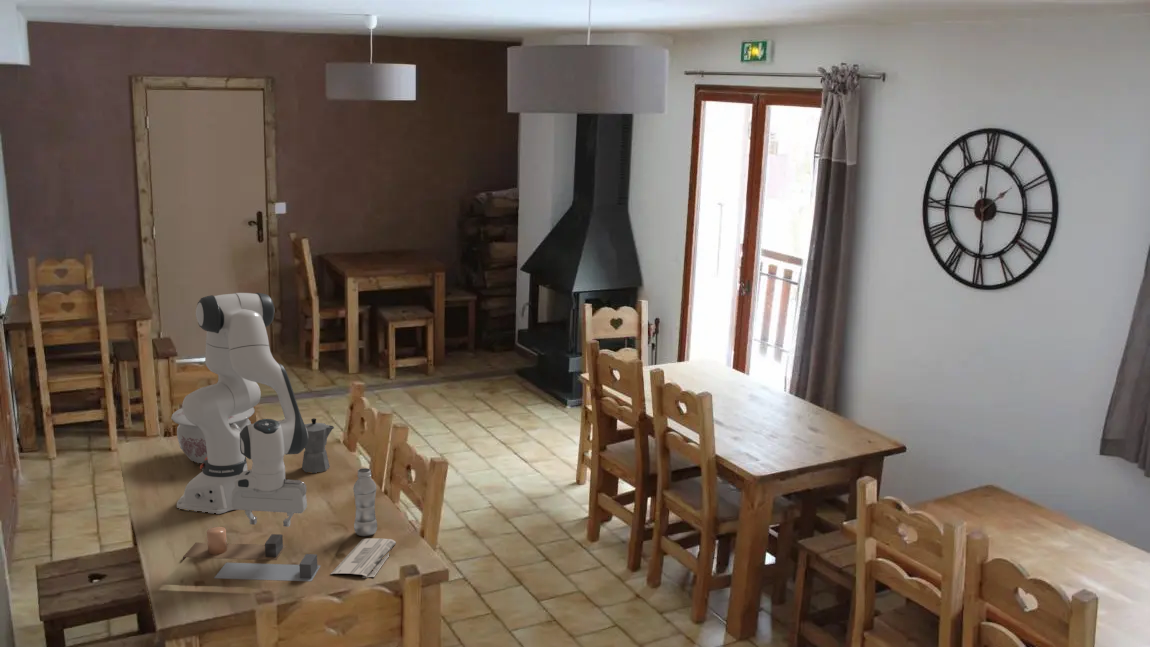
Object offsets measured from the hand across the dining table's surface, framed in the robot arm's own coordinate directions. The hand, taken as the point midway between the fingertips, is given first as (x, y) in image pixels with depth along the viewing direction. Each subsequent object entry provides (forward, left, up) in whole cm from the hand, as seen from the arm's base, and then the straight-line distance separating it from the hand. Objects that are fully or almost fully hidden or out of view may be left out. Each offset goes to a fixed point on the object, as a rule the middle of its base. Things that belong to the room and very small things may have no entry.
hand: (270, 524), depth 283 cm
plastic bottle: (+23, +16, -10) cm, 29 cm away
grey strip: (+3, -12, -9) cm, 15 cm away
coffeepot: (-7, +66, -10) cm, 67 cm away
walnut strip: (-10, 0, -9) cm, 14 cm away
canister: (-15, 0, -8) cm, 17 cm away
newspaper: (+27, 0, -10) cm, 29 cm away
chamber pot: (-43, +73, -10) cm, 85 cm away
